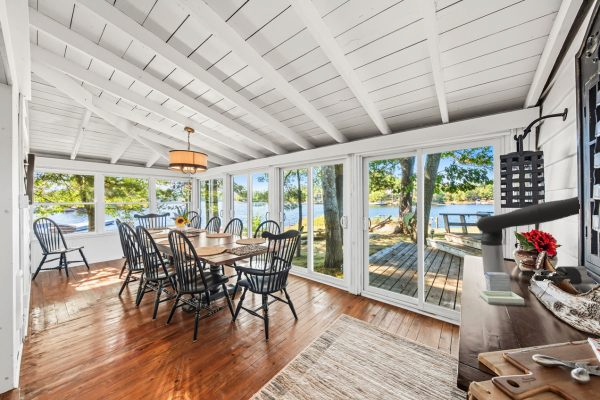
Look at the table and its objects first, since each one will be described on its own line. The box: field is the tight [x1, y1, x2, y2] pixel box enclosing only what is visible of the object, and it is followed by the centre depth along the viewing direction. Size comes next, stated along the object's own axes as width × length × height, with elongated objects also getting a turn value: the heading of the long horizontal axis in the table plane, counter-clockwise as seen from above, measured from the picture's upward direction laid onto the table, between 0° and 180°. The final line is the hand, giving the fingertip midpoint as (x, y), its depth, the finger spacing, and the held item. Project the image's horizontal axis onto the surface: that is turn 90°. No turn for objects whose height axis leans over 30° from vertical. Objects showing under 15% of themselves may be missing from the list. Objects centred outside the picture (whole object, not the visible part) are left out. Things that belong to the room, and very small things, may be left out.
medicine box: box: [484, 272, 512, 292], centre depth 107 cm, size 8×4×9 cm, turn 71°
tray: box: [478, 290, 525, 306], centre depth 99 cm, size 8×12×2 cm
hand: (528, 275), depth 104 cm, fingers open, 8 cm apart
